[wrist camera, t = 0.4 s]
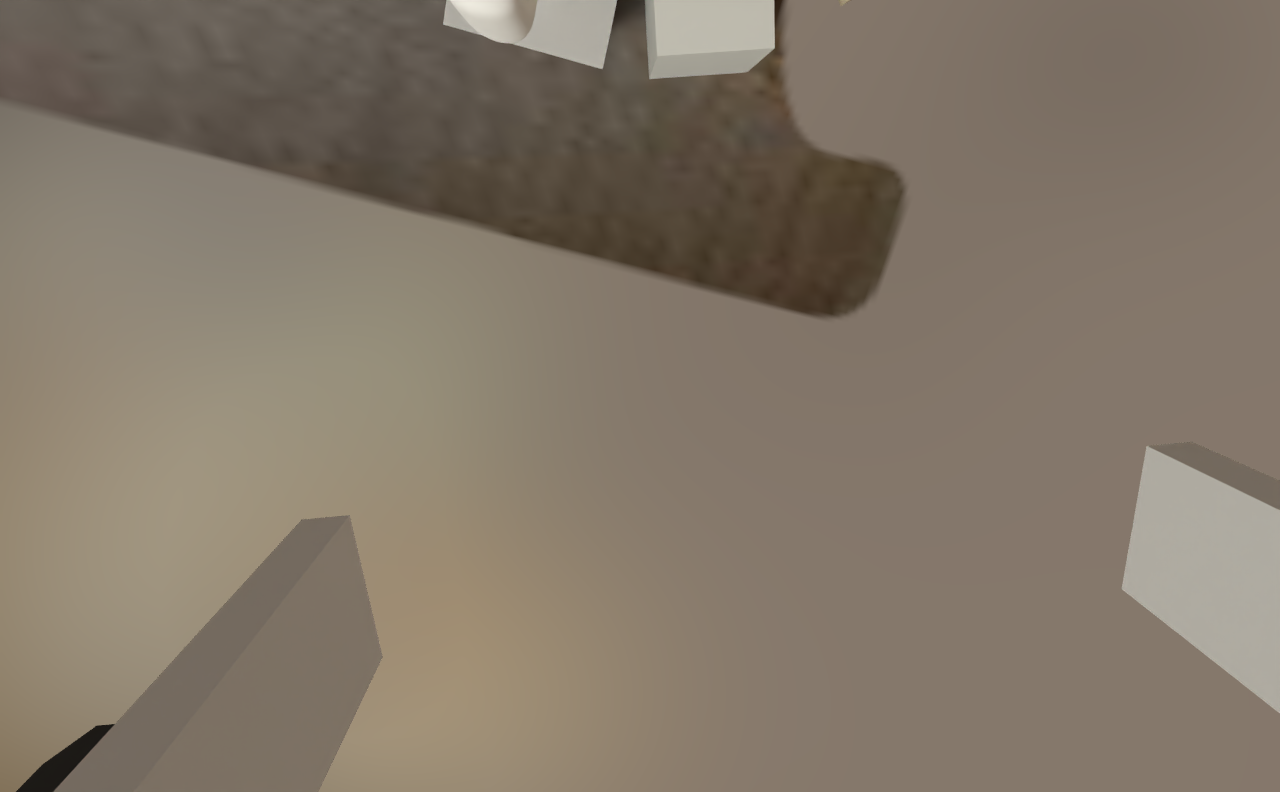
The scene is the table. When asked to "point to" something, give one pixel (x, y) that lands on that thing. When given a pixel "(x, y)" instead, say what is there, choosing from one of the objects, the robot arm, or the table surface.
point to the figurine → (540, 25)
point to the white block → (707, 36)
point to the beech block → (843, 2)
